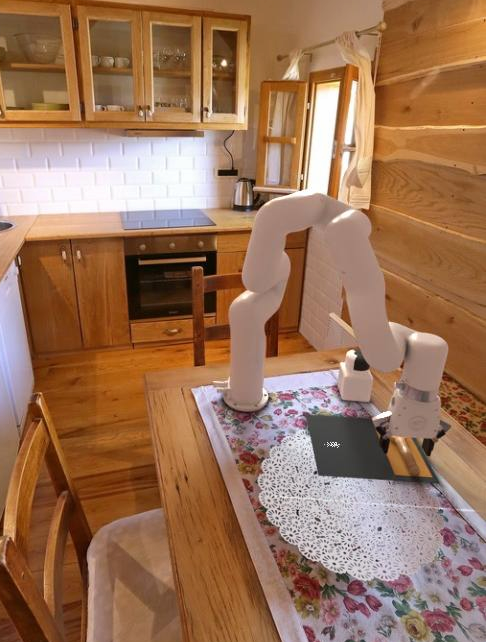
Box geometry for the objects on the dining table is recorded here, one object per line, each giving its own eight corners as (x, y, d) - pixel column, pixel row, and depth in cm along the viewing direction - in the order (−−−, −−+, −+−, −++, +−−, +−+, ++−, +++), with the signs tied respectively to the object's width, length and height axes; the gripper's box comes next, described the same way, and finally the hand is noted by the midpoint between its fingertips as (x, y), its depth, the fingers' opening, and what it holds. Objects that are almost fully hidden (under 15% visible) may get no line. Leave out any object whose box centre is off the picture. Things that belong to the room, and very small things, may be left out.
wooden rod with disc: (426, 479, 88) (428, 471, 88) (404, 477, 89) (406, 469, 88) (401, 431, 102) (403, 423, 102) (383, 429, 103) (384, 422, 102)
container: (363, 386, 120) (369, 347, 116) (369, 402, 113) (377, 362, 109) (336, 384, 121) (342, 345, 117) (341, 400, 114) (347, 360, 110)
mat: (318, 476, 89) (318, 474, 89) (305, 415, 108) (305, 414, 108) (440, 484, 87) (440, 483, 87) (405, 421, 106) (405, 420, 106)
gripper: (383, 396, 85) (371, 460, 91) (468, 401, 85) (450, 465, 90) (373, 376, 92) (362, 436, 98) (451, 380, 92) (435, 441, 97)
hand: (404, 450), depth 94 cm, fingers open, 9 cm apart
